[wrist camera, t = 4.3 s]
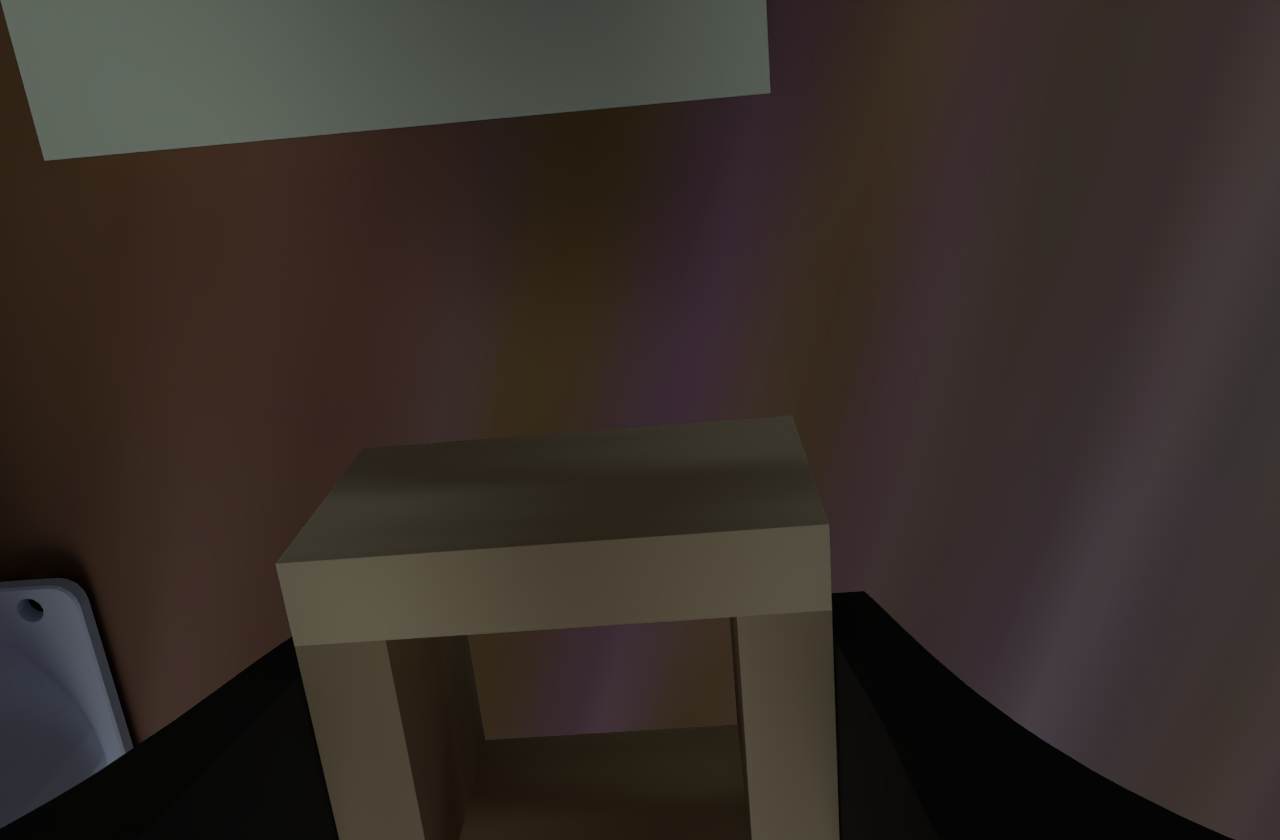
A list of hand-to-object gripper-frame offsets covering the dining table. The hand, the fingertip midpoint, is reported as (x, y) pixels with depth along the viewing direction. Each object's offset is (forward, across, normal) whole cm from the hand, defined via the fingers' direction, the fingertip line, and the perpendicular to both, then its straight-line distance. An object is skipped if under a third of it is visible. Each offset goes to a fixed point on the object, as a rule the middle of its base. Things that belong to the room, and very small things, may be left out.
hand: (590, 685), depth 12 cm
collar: (+1, 0, 0) cm, 1 cm away
